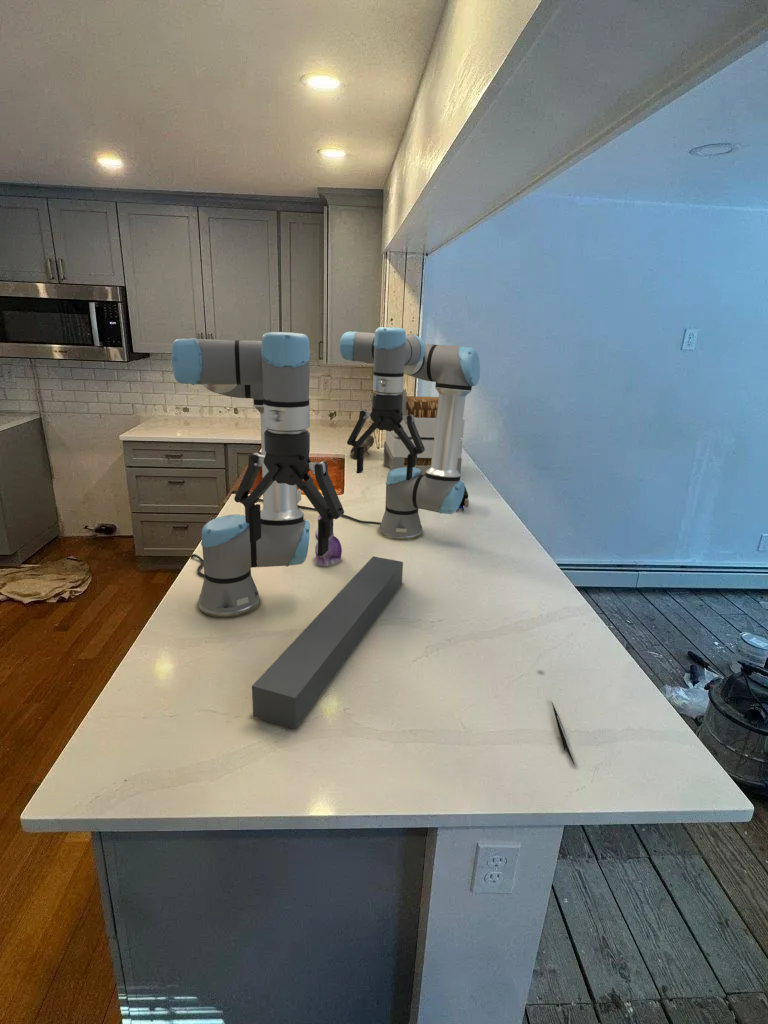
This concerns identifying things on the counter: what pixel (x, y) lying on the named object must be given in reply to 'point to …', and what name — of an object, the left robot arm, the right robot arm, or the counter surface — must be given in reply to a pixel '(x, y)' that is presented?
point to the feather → (562, 734)
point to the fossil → (364, 445)
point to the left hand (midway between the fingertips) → (288, 546)
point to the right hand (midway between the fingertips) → (384, 475)
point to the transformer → (425, 425)
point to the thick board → (324, 645)
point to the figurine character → (464, 500)
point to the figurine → (329, 551)
